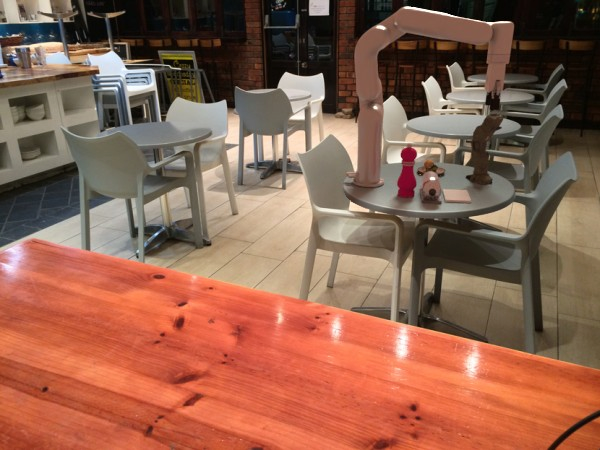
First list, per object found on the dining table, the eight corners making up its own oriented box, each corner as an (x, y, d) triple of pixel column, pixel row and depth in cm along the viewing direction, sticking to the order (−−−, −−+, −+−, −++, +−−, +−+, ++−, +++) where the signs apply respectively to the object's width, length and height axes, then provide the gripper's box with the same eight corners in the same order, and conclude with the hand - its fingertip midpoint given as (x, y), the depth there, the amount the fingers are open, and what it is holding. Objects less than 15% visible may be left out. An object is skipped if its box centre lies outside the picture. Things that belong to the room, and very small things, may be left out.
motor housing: (421, 202, 179) (423, 183, 176) (419, 188, 194) (421, 170, 191) (441, 203, 178) (443, 184, 175) (438, 189, 193) (439, 171, 190)
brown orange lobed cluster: (445, 178, 206) (447, 161, 203) (416, 177, 209) (418, 159, 206) (444, 170, 217) (446, 153, 214) (417, 169, 220) (418, 152, 217)
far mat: (445, 201, 180) (445, 199, 179) (442, 191, 191) (442, 189, 190) (470, 202, 178) (471, 200, 178) (466, 192, 189) (467, 190, 189)
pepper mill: (392, 193, 190) (395, 142, 182) (409, 190, 192) (412, 140, 184) (402, 199, 183) (406, 146, 176) (419, 196, 186) (423, 144, 178)
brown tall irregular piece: (457, 173, 208) (477, 109, 191) (470, 171, 210) (490, 107, 193) (478, 189, 198) (501, 123, 181) (491, 187, 201) (515, 121, 184)
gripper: (483, 57, 184) (477, 103, 190) (491, 61, 168) (484, 111, 175) (504, 57, 182) (498, 103, 189) (514, 61, 167) (507, 112, 173)
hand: (491, 107), depth 182 cm, fingers open, 9 cm apart
